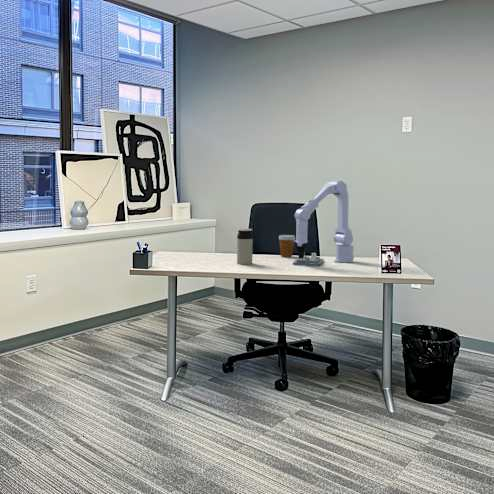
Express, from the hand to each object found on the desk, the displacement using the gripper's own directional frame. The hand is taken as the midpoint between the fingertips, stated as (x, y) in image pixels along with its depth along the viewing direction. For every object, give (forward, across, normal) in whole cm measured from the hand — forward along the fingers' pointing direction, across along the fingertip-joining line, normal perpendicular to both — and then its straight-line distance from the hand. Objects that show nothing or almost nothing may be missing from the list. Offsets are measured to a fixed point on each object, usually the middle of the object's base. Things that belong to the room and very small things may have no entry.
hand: (301, 258), depth 291 cm
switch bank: (+3, -7, +3) cm, 9 cm away
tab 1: (+2, -4, 0) cm, 5 cm away
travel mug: (+4, +5, -29) cm, 30 cm away
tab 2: (+2, -4, +6) cm, 8 cm away
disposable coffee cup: (+4, -26, -12) cm, 29 cm away
